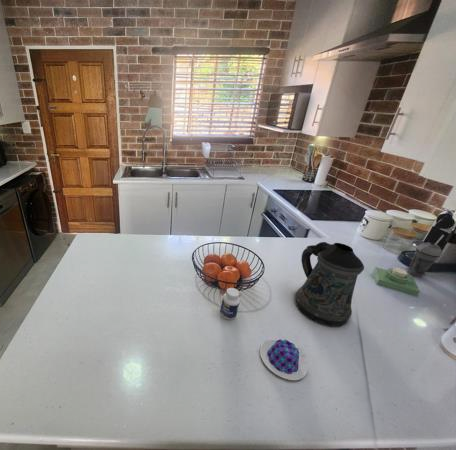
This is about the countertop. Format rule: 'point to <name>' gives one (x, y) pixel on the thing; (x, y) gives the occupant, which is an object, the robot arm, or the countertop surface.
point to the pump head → (399, 272)
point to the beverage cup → (424, 258)
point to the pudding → (283, 359)
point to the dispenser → (395, 281)
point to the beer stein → (328, 283)
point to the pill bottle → (230, 304)
